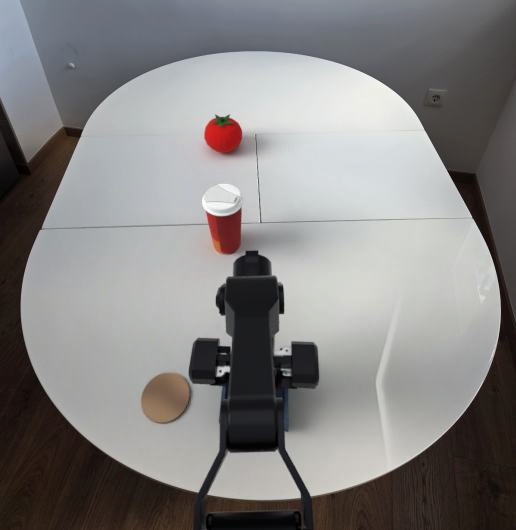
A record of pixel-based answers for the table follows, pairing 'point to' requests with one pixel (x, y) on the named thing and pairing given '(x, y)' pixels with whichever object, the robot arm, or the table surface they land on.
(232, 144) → the tomato
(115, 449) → the table surface
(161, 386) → the coaster
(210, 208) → the coffee cup
